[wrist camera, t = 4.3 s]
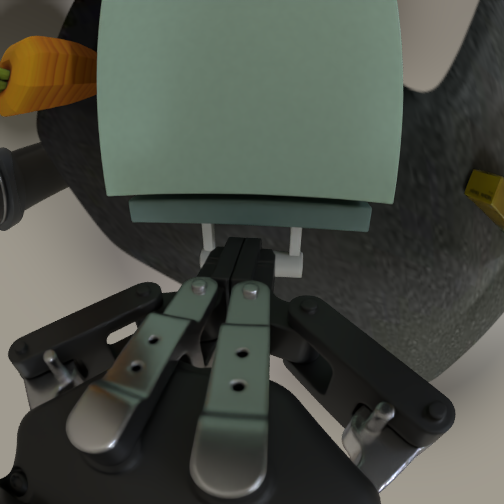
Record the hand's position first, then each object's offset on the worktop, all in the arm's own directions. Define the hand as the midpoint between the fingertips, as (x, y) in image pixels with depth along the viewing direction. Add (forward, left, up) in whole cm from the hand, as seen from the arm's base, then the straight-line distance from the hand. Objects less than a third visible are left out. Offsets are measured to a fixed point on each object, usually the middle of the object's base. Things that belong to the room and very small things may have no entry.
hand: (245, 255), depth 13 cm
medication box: (+23, +2, -9) cm, 25 cm away
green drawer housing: (0, +11, -9) cm, 14 cm away
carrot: (-12, +11, -9) cm, 19 cm away
